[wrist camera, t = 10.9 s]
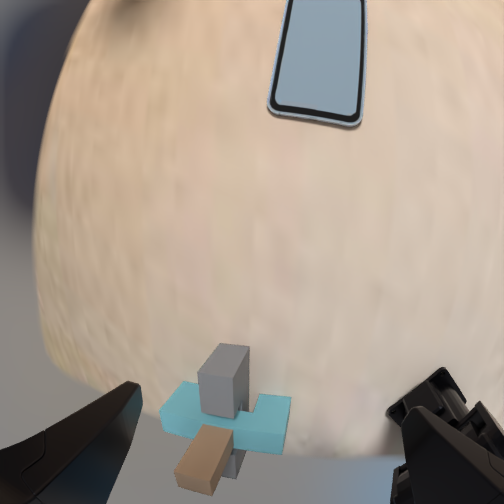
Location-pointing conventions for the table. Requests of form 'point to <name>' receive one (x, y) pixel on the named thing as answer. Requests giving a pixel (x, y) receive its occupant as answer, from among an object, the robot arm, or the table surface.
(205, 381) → the slotted bar
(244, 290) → the table surface
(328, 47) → the smartphone
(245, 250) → the table surface
